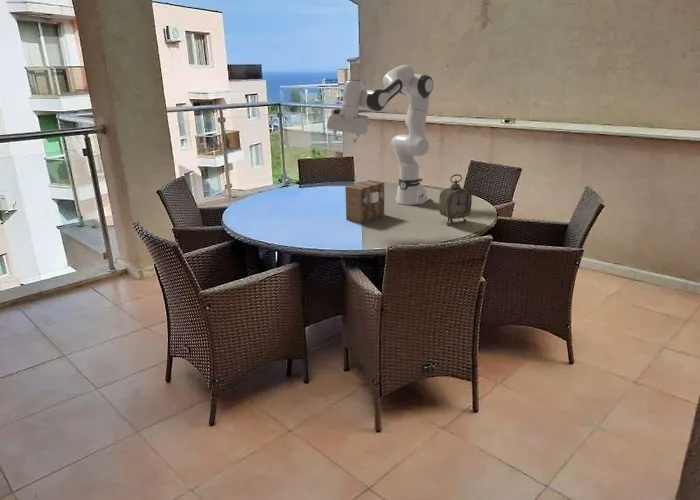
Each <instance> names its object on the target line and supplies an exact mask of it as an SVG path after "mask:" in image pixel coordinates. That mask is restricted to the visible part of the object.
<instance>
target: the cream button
mask: <svg viewBox="0 0 700 500" xmlns="http://www.w3.org/2000/svg"><path fill="white" fill-rule="evenodd" d="M378 201H379V192H376V191H373V192H369V203H375V202H378Z"/></svg>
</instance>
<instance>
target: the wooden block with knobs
mask: <svg viewBox="0 0 700 500" xmlns="http://www.w3.org/2000/svg"><path fill="white" fill-rule="evenodd" d="M373 191H376V192H379V201H378V202H375V203H369V192H373ZM385 195H386V194H385V182H384V181H379V180H373V179H368V180H365V181H362V182H361V181H360V182H358V183H354V184H350V185H347V186H345V212H346V213H345V215H346V217H345V218H346V221H350V222H354V223H359V224H363V223H365V222H369V221H371V220H373V219H376V218H379V217H382V216H384V215H385Z"/></svg>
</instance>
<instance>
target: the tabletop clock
mask: <svg viewBox="0 0 700 500" xmlns="http://www.w3.org/2000/svg"><path fill="white" fill-rule="evenodd" d="M453 177H460V179H459V180H457V179H454V181H453V180H452V178H453ZM462 179H463V177H462V175H461V174H453V175H452V176H451V177H450V179H449V180H450V183H452V184H451V186H450V187H447V188H444V189H443V190H440V193H439V197H438V198H439V200H438V209H439V214H440V215H441V216H444V217H445V218H447V222H446V224H445V225H446V226H450V222H453V221H454V220H456V219H457V220H458V219H462V220H463V223H467V221H468V219H466V218H465V217H468V216H469V215H470V214H471V210H472V203H473V202H472V199H473V197H472V196H473V195H472V190H470V189H466V188H463V187H461V184H460V182H462Z"/></svg>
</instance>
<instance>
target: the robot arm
mask: <svg viewBox="0 0 700 500" xmlns="http://www.w3.org/2000/svg"><path fill="white" fill-rule="evenodd" d="M382 83H383V87H384V88H383V89H367V88H366V87H365V86H364V84H363V83H362V80H360V79H347V80H346V82H345V84H344V87H343V90H342V91H343V92H342V103H341V106H340V108H335V109H331V111H330V115H329V117H328V119H327V124H326V128H327V130H329V131H332V132H333V135H334V141H338V140H339V136H337V134H336V133H338V132H342V133H349V134H356V137H355V138H354V139H353V140H352V142H353V144H357V142H358V139H359V138H360V135H364V136H366V135H367V134H368V127H369V126H368V125H370V120H371V119H370V117H368V115H362V114H359V112H360V111H359V110H363V111H365V110H366V111H376V112H380V111H382V110H383V109H385V107H386V105H387V104H388V103H389V102H390V101H391V100H392V99H393V98H395V96H396V95H398V94H401V95H403V96H404V95H407V96H410V102H409V104H408V105H409V106H408V108H407V111H406V112H407V113H406V117H405V121H404V123H405V125H406V126H407V129H408V134H403V133H402V134H397V135H395V136H393V137H392V139H391V141H390V146H391V150H393V152H394V153H395V155H396V157H397V161H398V165H399V168H398V169H399V178H398V186H397V189H396V197H395V198H394V199H395V201H396V203H397V204H399V205H404V206H405V205H407V206H409V205H410V206H411V205H413V206H414V205H423V204H424V203H426V202H428V201H429V200H431V197H430V196H428V195H427V189H426V188H425V187H424V186H423V185H421V182H423V181H424V180H423V178H422V177H419V172H420V171H419V170H420V169H419V163H418V162H417V161H416V159H415V157H421V156H425V155H426V154H427V153H428V152H429V148H430V143H429V141H428V139H427V137H426V133H425V126H426V122H427V121H426V120H427V115H428V111H429V105H430V94H431V93H432V91H433V90H434V89H433V88H434V81H433V78H432V77H431V76H429V75H426V74H418V73H415V71H414V69H413V67H412V66H411V65H409V64H402V65H399V66H397V67H394V68H392V69H391V70H389V71H388V72H386V73H385V75H384V76H383V79H382Z"/></svg>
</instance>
